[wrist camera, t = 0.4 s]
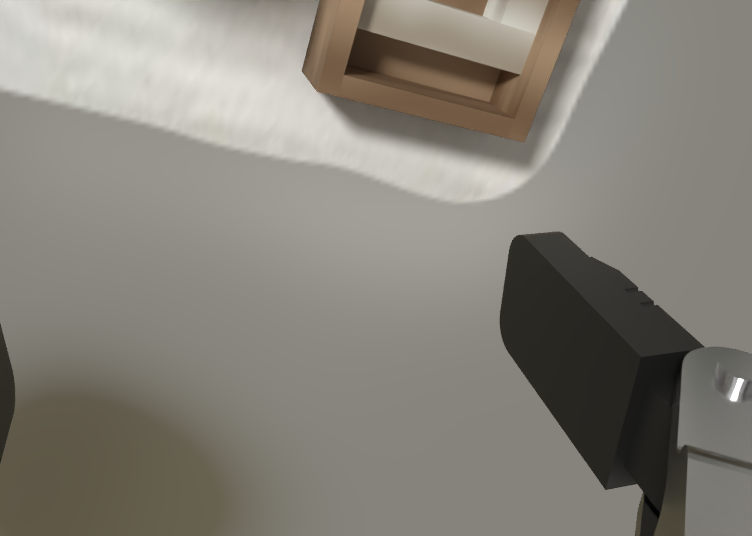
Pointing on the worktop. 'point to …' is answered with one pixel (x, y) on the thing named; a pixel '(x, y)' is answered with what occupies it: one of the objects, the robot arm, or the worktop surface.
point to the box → (441, 57)
